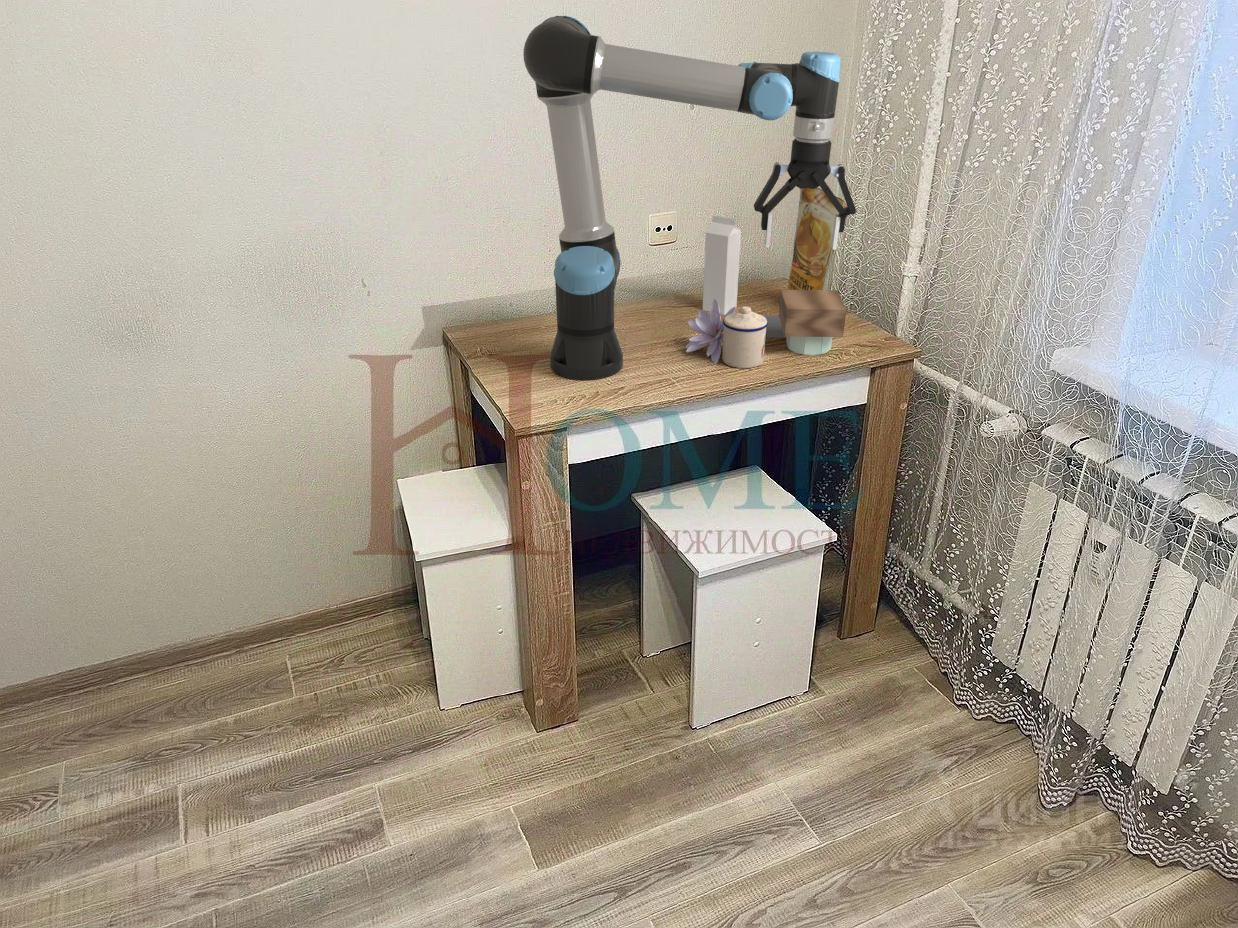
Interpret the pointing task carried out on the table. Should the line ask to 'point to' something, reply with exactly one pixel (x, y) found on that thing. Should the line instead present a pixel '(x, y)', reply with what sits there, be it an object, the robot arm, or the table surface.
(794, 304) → the brown wooden block
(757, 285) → the table surface
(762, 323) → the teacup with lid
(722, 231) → the milk
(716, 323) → the water lily
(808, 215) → the pancake mix bag
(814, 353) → the bowl
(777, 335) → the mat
